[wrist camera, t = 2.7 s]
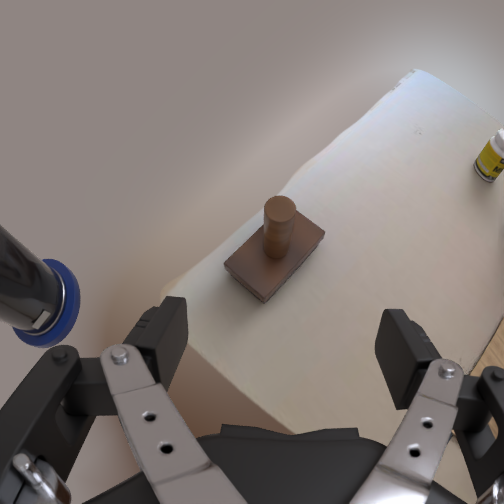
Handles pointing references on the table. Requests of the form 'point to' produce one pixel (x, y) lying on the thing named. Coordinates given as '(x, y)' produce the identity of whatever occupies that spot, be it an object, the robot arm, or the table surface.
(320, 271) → the table surface
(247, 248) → the brown block with cylinder
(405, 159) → the table surface
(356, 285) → the table surface
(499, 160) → the supplement bottle
